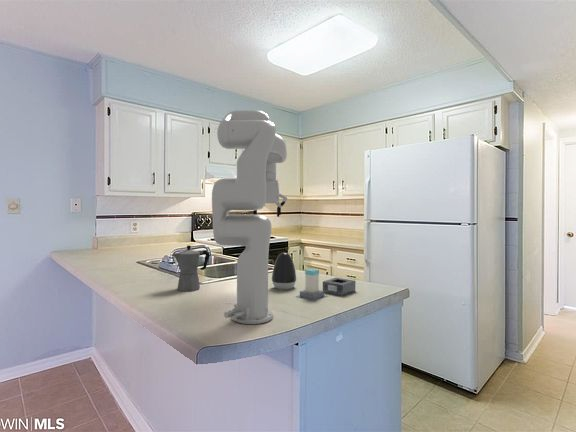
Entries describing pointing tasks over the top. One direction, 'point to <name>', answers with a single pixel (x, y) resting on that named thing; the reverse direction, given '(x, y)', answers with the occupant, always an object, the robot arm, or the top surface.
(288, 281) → the dark egg-shaped speaker
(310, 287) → the blue capped white bottle
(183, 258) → the coffeepot
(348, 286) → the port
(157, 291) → the top surface
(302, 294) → the grey square open box
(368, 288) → the top surface
